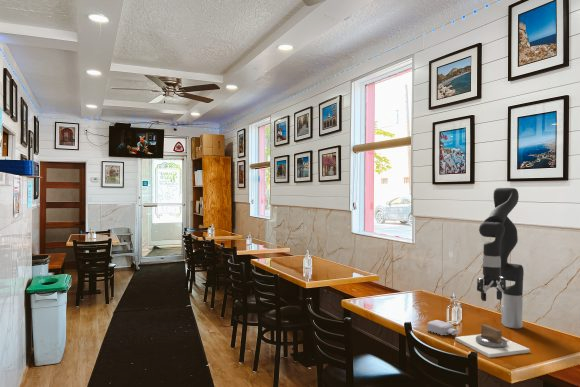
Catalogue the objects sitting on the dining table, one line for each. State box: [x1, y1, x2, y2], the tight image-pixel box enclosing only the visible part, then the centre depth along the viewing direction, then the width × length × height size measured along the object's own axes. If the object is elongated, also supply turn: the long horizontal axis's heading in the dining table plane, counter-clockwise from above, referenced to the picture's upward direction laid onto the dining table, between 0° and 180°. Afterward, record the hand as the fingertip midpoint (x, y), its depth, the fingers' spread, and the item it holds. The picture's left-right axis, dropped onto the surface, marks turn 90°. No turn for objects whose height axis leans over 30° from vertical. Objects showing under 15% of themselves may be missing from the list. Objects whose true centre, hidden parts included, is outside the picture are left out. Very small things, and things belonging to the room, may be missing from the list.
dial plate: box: [454, 333, 531, 359], centre depth 192 cm, size 22×22×2 cm
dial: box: [476, 323, 507, 348], centre depth 192 cm, size 13×13×7 cm
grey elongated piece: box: [426, 319, 461, 336], centre depth 209 cm, size 5×9×15 cm
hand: (491, 300), depth 192 cm, fingers open, 8 cm apart
